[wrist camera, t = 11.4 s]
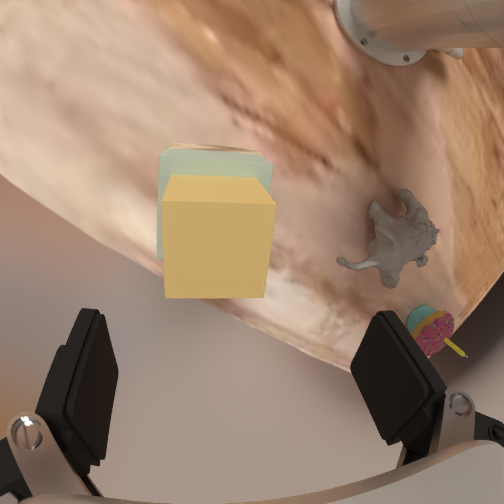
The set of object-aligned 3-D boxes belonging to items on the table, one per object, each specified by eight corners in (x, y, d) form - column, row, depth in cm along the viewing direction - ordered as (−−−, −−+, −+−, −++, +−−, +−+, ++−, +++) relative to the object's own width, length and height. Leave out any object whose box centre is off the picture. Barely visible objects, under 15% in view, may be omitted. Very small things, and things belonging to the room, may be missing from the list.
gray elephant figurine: (420, 226, 35) (457, 253, 28) (352, 283, 37) (379, 320, 31) (394, 171, 31) (436, 191, 24) (316, 235, 33) (344, 270, 26)
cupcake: (430, 286, 41) (476, 335, 30) (441, 312, 44) (480, 356, 34) (389, 323, 42) (428, 377, 32) (405, 344, 46) (439, 392, 36)
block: (256, 177, 21) (276, 204, 16) (248, 252, 24) (263, 297, 19) (171, 174, 20) (161, 201, 15) (171, 251, 23) (165, 298, 17)
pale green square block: (262, 155, 24) (273, 164, 21) (249, 241, 28) (257, 263, 24) (165, 148, 23) (159, 156, 19) (162, 237, 26) (157, 259, 23)
